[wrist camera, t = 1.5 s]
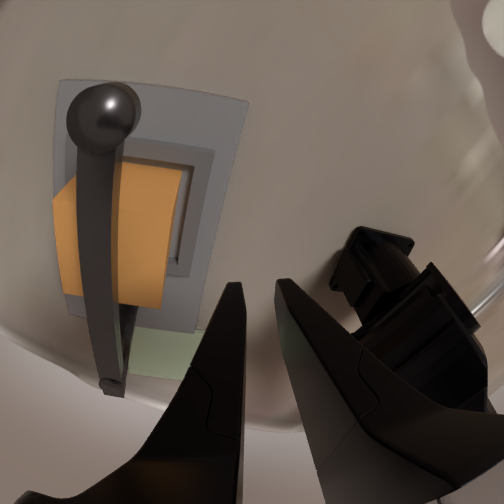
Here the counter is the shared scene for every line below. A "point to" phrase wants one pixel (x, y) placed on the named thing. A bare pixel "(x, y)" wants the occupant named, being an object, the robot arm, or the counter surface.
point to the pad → (162, 352)
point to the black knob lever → (103, 221)
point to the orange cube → (126, 233)
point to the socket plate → (191, 185)
